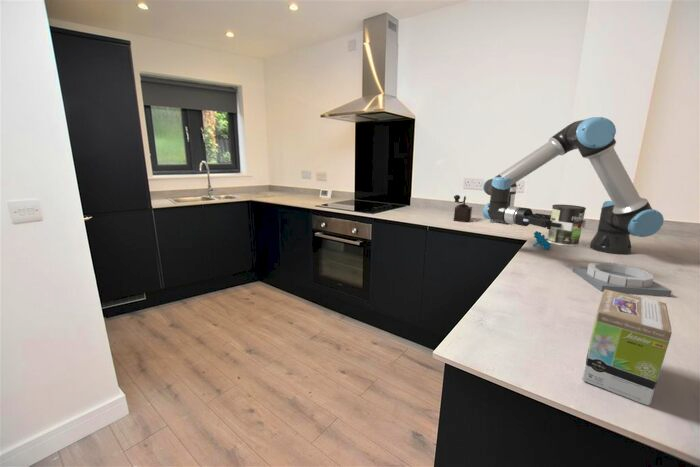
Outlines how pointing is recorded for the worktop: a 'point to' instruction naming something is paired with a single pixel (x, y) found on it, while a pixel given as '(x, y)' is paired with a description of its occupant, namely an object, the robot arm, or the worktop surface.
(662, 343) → the tea box
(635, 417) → the worktop surface
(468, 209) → the manual coffee grinder
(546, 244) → the gear
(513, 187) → the coffee press
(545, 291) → the worktop surface
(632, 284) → the housing
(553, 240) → the coffee can
